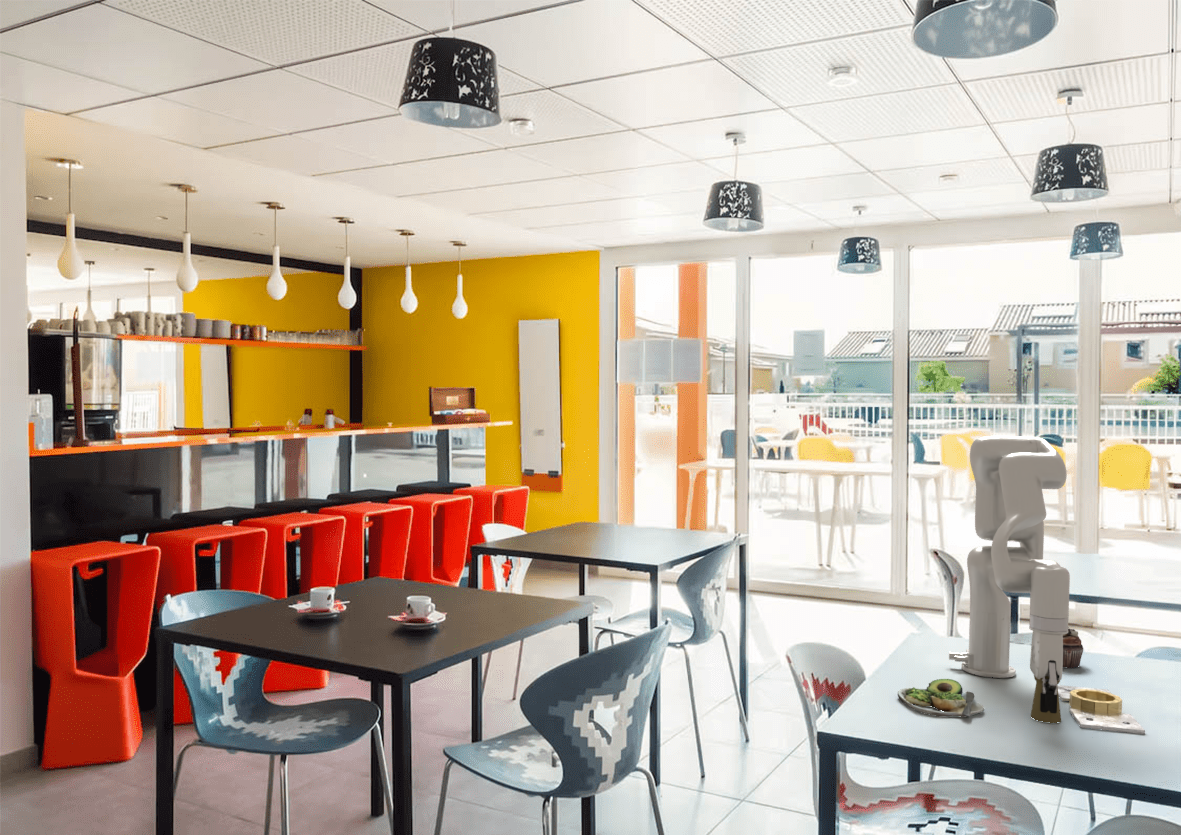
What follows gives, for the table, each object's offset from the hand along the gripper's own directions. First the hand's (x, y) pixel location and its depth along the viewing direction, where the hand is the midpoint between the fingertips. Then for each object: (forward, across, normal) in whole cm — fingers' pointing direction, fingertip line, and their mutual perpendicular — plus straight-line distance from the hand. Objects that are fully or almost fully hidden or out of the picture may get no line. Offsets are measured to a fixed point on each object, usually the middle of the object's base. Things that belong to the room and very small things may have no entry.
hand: (1046, 708), depth 207 cm
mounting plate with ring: (+2, -11, +12) cm, 16 cm away
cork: (+2, 0, 0) cm, 2 cm away
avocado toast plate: (+3, -3, -21) cm, 21 cm away
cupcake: (+3, -51, +13) cm, 53 cm away
